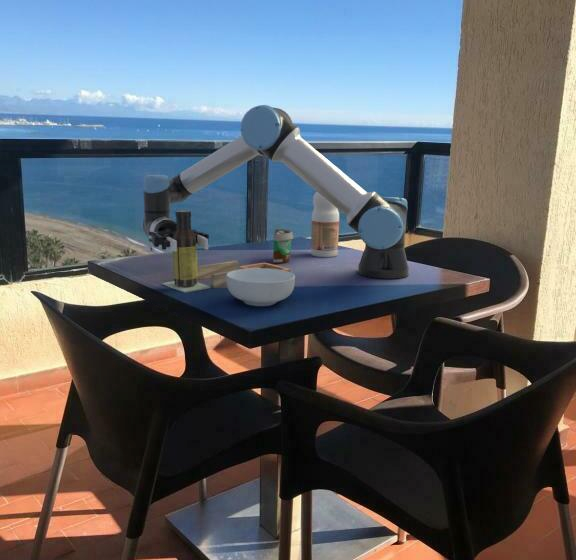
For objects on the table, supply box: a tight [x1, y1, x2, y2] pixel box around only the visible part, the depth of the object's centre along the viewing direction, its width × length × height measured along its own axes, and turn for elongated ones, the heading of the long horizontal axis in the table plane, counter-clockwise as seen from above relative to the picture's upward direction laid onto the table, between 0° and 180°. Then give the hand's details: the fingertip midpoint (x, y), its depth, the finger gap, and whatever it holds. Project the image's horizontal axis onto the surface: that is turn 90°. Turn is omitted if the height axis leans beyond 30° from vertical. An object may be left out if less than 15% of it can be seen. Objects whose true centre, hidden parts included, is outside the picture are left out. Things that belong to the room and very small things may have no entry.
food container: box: [272, 228, 294, 265], centre depth 194 cm, size 12×6×10 cm, turn 179°
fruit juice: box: [310, 190, 340, 258], centre depth 205 cm, size 9×9×28 cm
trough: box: [197, 260, 261, 289], centre depth 169 cm, size 12×16×4 cm
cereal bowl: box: [226, 268, 296, 307], centre depth 147 cm, size 17×17×7 cm
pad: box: [162, 280, 211, 293], centre depth 161 cm, size 11×8×1 cm
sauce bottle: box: [172, 209, 198, 287], centre depth 158 cm, size 6×6×20 cm
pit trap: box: [238, 262, 292, 273], centre depth 179 cm, size 12×10×2 cm
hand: (191, 245), depth 154 cm, fingers open, 8 cm apart
